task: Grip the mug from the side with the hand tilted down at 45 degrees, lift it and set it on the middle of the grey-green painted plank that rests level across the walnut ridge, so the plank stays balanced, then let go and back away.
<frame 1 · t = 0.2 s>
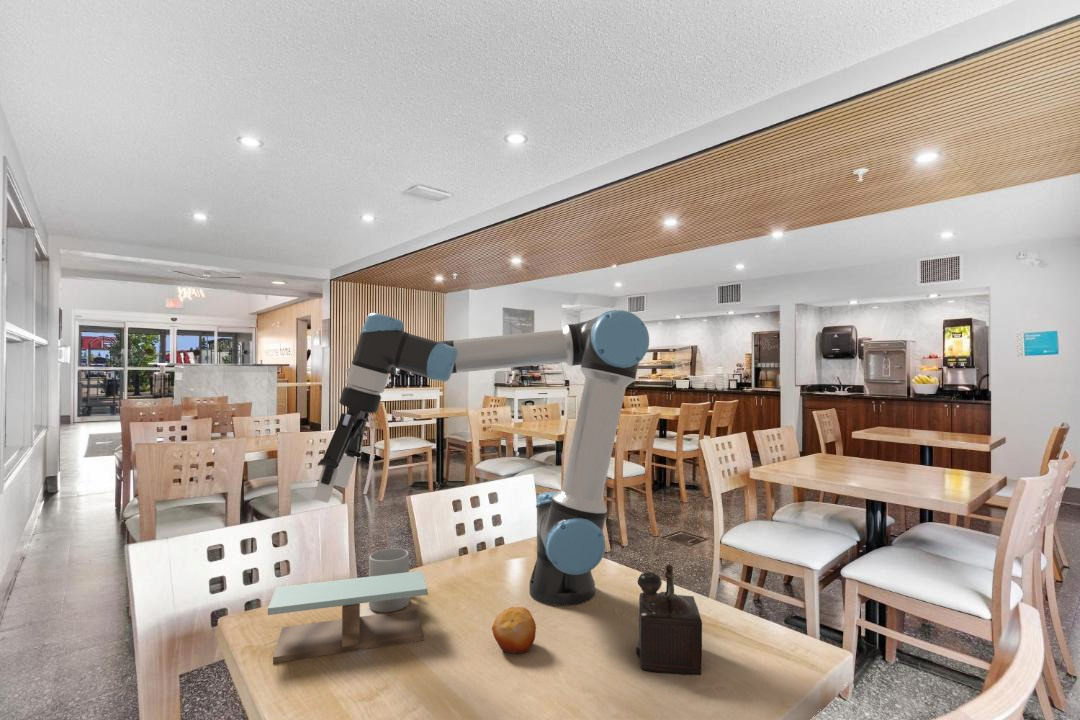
hand: (330, 493, 109), 27 cm above the table, tool tilted 15°, fingers open, 13 cm apart
plank: (351, 591, 107), point 9 cm above the table, hinge at 0.0°
mug: (393, 602, 123), on the table
fruit: (514, 649, 102), on the table
fulcrum stand: (351, 636, 107), on the table
manual coffee grinder: (668, 666, 96), on the table
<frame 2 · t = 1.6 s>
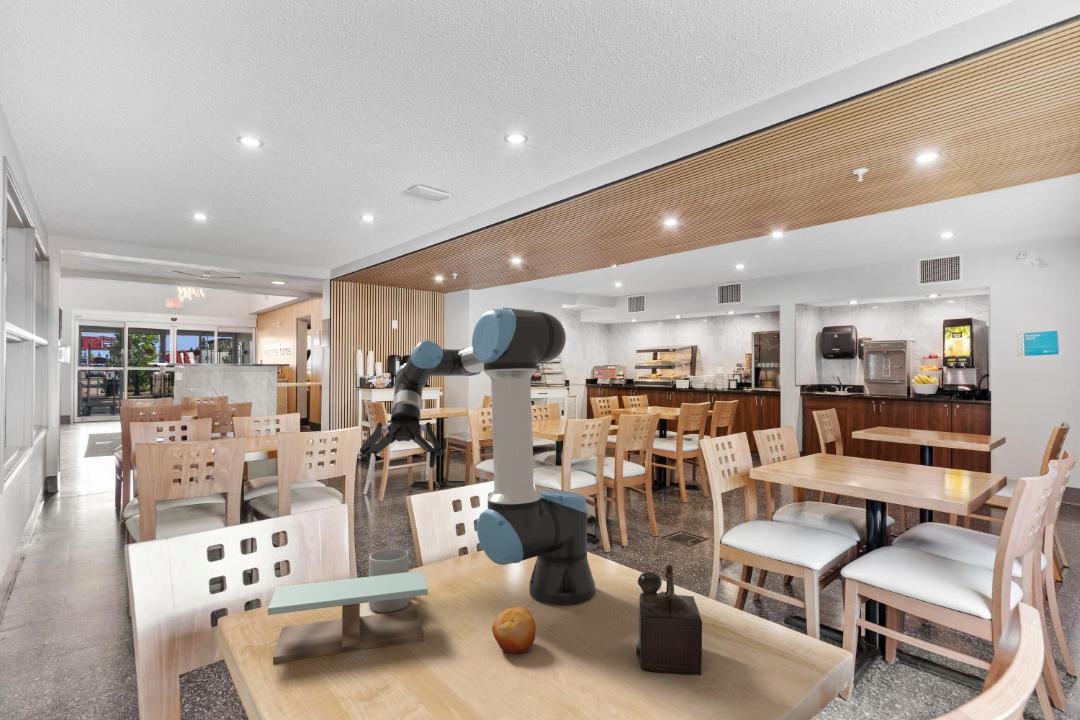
hand: (398, 478, 134), 25 cm above the table, tool tilted 45°, fingers open, 13 cm apart
nothing on the table moved.
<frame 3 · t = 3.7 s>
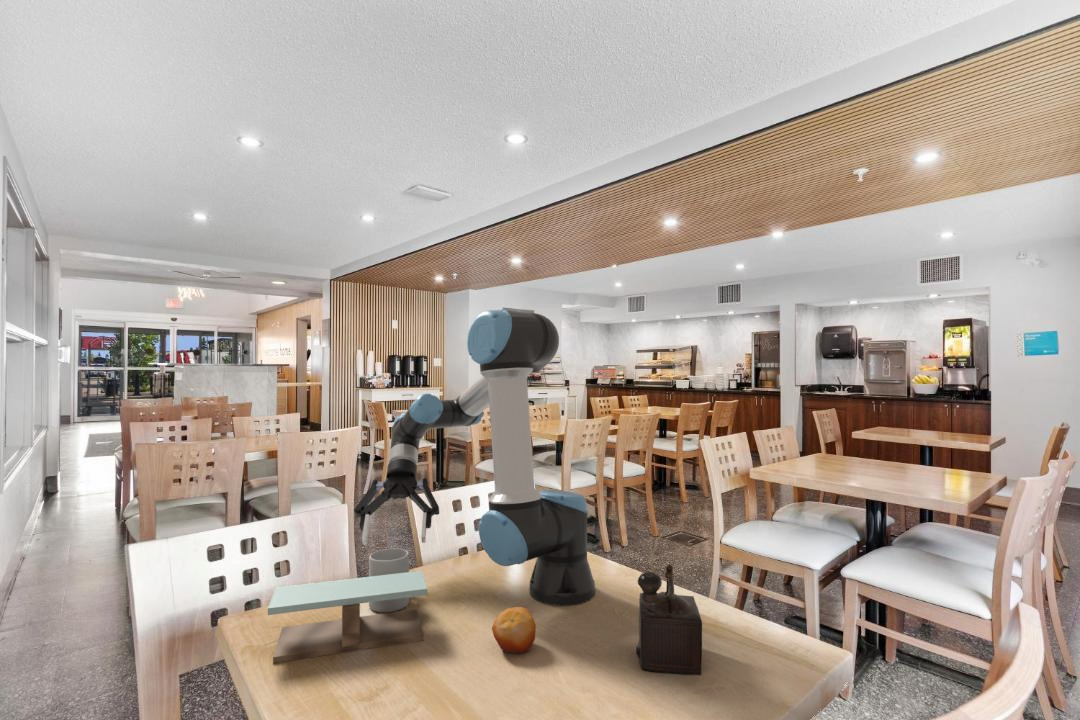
hand: (393, 541, 130), 11 cm above the table, tool tilted 45°, fingers open, 13 cm apart
nothing on the table moved.
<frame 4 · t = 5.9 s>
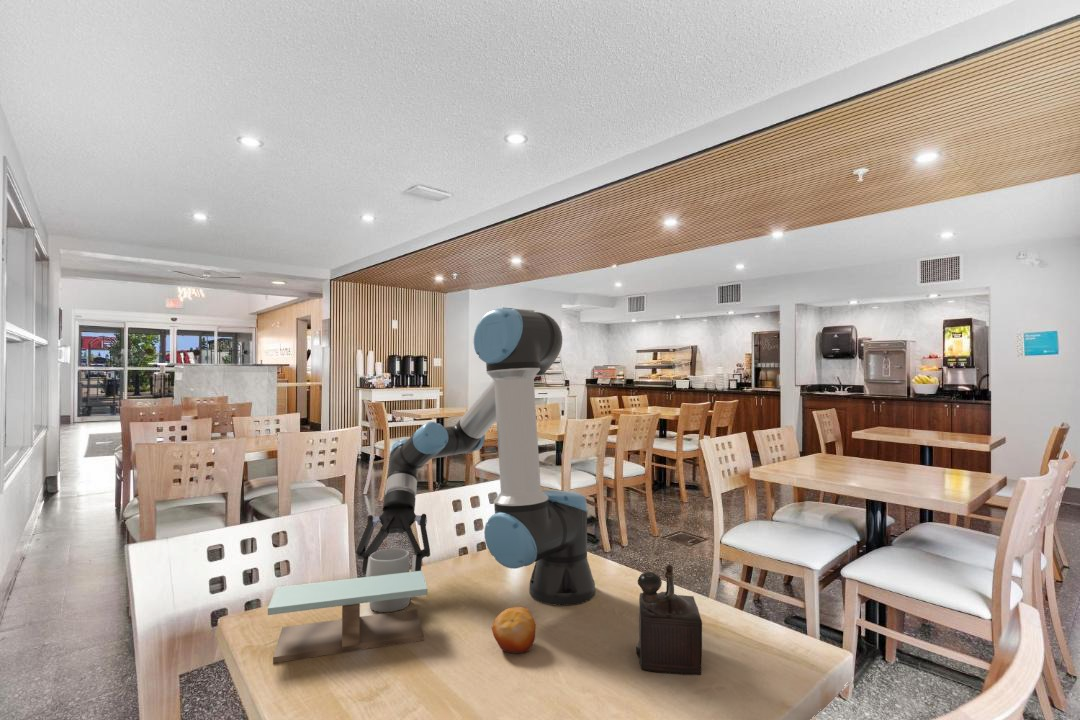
hand: (389, 587, 120), 4 cm above the table, tool tilted 45°, fingers open, 9 cm apart
mug: (393, 602, 123), on the table, touching gripper
everything else where it was.
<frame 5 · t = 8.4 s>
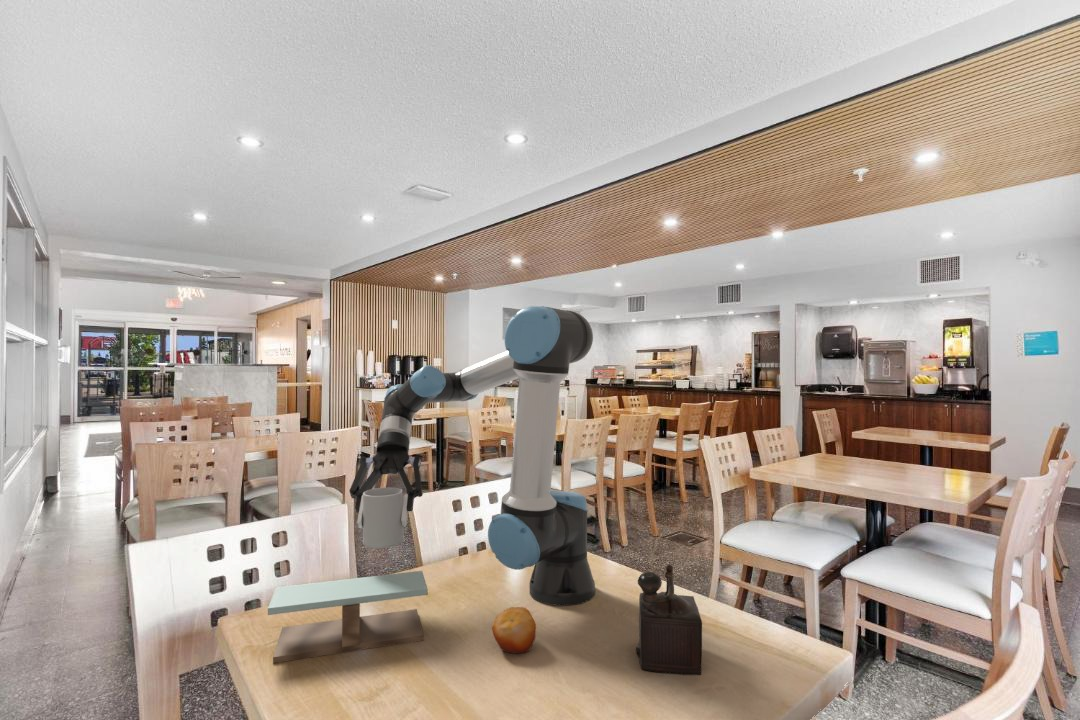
hand: (381, 524, 118), 18 cm above the table, tool tilted 45°, fingers closed on mug, 8 cm apart
mug: (387, 540, 122), point 14 cm above the table, touching gripper
everything else where it was.
when the fingers open (15 cm above the table, at t = 10.5 s): mug drops 1 cm, resting on plank.
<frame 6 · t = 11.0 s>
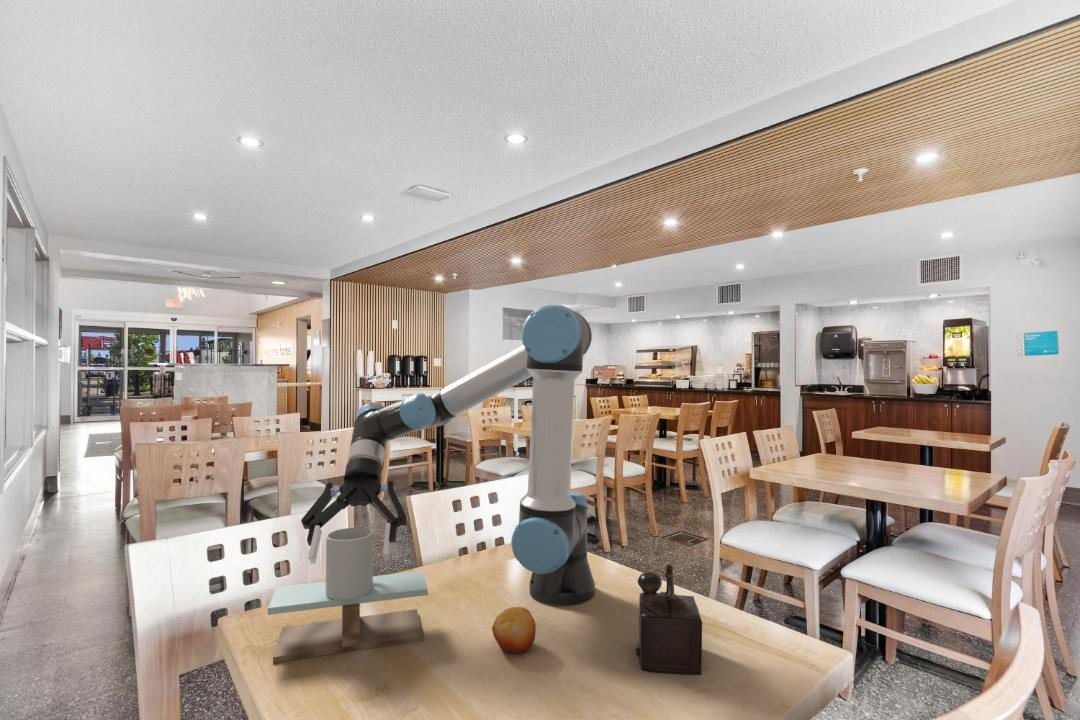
hand: (348, 559, 105), 16 cm above the table, tool tilted 45°, fingers open, 13 cm apart
plank: (351, 591, 107), point 9 cm above the table, hinge at -0.2°, touching mug
mug: (354, 588, 107), point 9 cm above the table, touching plank
everything else where it was.
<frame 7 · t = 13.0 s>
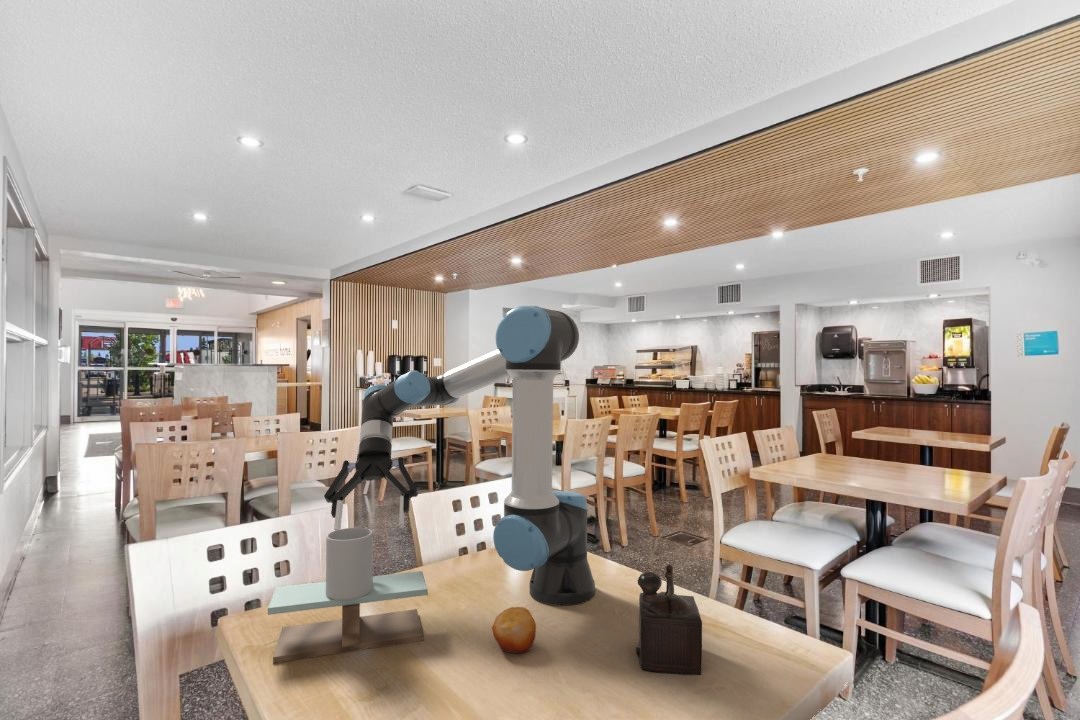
hand: (369, 528, 120), 17 cm above the table, tool tilted 40°, fingers open, 13 cm apart
nothing on the table moved.
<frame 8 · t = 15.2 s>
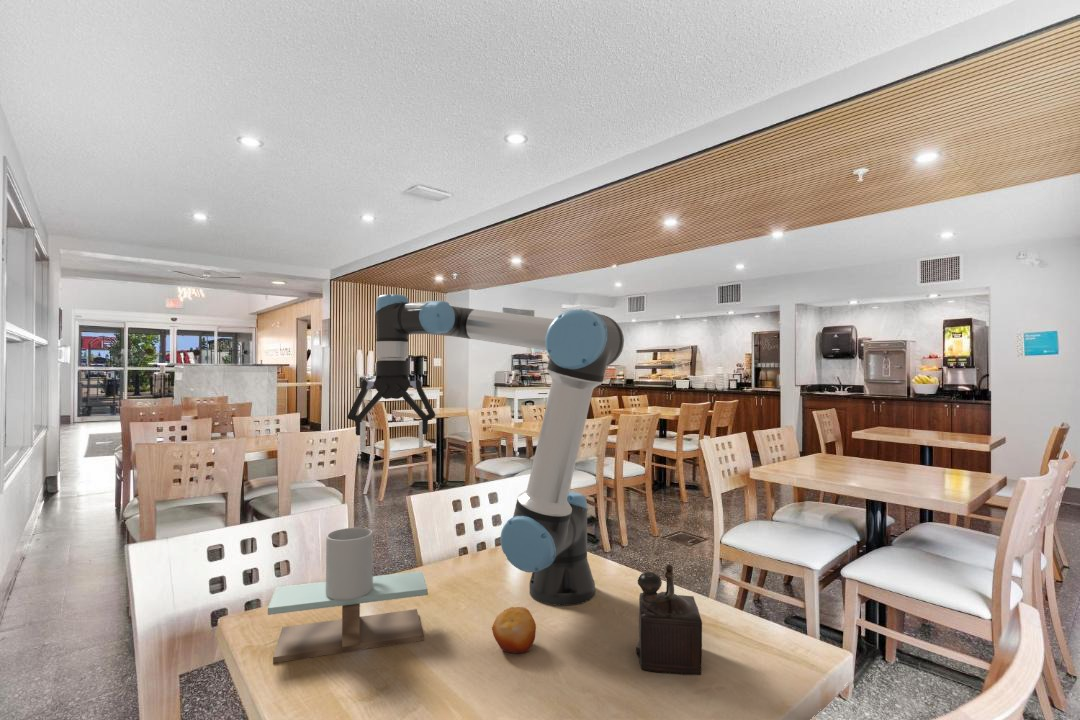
hand: (392, 448, 132), 33 cm above the table, tool pointing down, fingers open, 13 cm apart
nothing on the table moved.
at the end: mug inside the target area (0.6 cm from its centre), point 9.1 cm above the table; mug tilted 0°; plank at +0° (first picture: +0°) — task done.
